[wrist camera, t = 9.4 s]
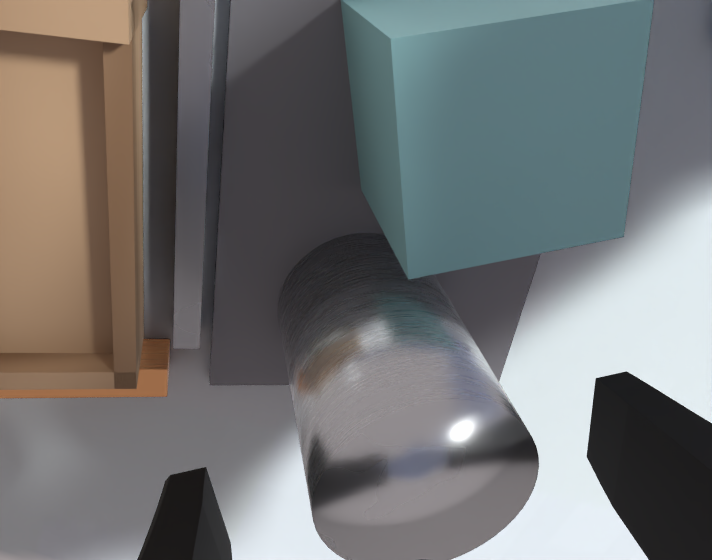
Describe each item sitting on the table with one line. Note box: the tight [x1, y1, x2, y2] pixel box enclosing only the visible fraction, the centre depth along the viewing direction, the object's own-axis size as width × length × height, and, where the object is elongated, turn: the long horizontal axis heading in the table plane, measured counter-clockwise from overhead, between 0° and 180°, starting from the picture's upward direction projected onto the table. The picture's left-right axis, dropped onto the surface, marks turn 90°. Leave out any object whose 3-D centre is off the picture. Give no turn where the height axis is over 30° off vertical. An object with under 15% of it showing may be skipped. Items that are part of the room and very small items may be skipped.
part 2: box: [278, 233, 539, 560], centre depth 14 cm, size 4×4×6 cm
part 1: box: [341, 0, 654, 280], centre depth 12 cm, size 4×4×4 cm
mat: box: [210, 0, 541, 385], centre depth 15 cm, size 8×10×1 cm
